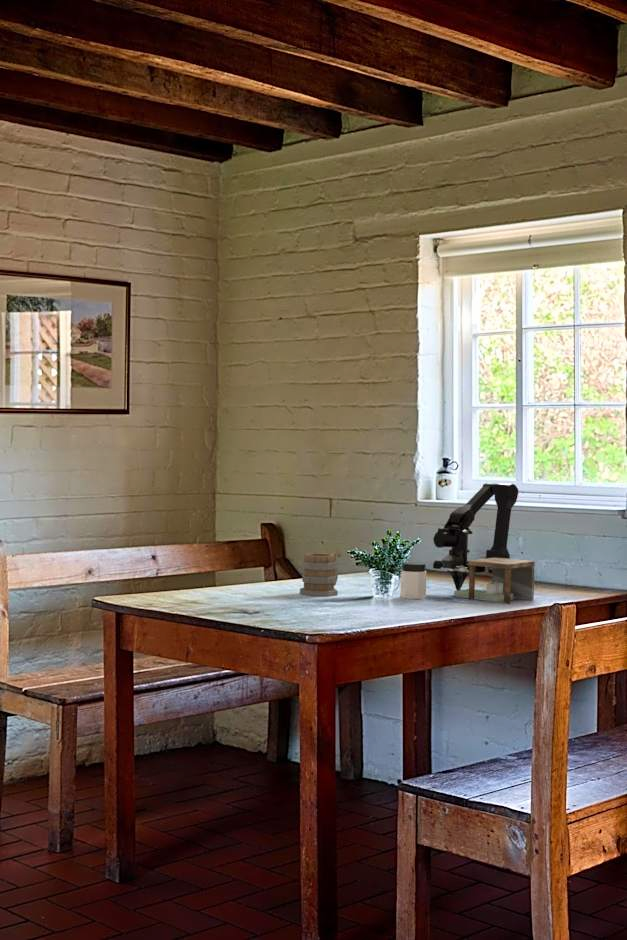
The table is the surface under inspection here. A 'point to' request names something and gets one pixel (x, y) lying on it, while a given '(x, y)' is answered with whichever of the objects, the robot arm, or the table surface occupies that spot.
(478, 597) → the tray
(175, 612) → the table surface
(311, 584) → the tankard
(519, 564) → the stand
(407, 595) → the jar
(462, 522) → the robot arm
